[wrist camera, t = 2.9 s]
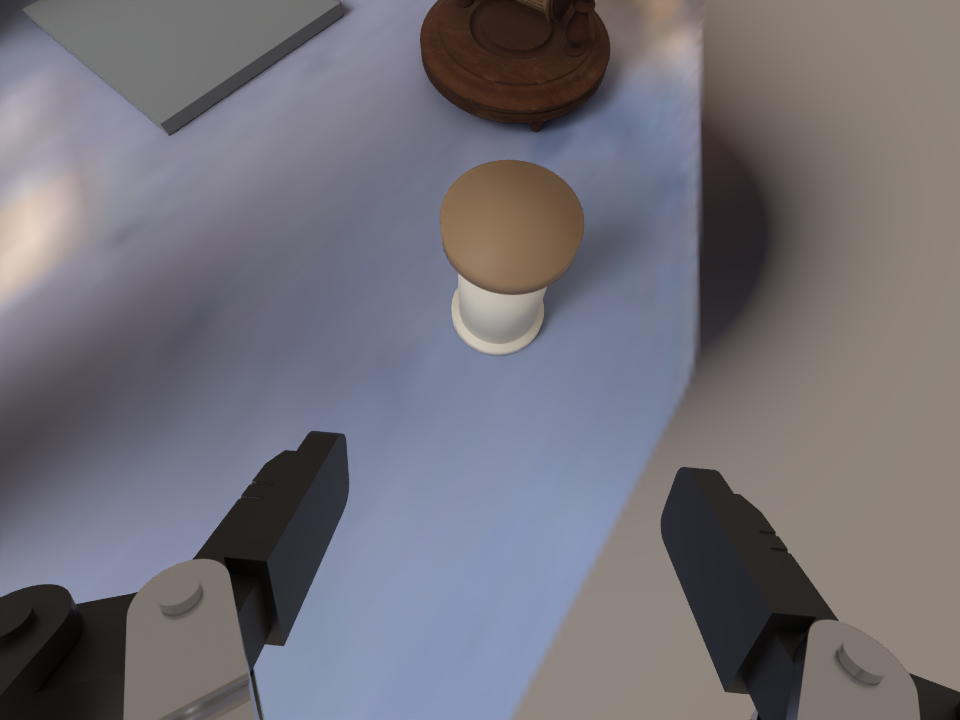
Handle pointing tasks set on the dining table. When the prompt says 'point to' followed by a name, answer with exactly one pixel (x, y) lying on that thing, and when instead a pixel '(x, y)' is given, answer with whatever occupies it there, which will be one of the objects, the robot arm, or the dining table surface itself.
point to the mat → (180, 45)
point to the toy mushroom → (507, 250)
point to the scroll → (515, 56)
